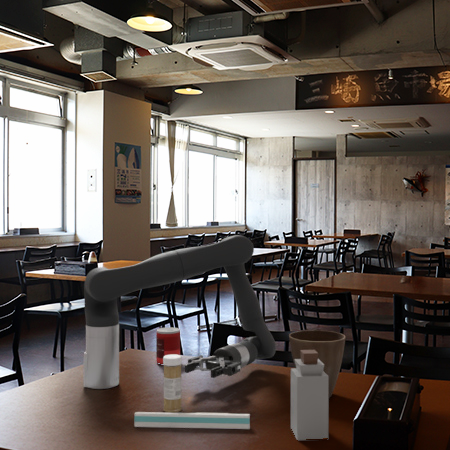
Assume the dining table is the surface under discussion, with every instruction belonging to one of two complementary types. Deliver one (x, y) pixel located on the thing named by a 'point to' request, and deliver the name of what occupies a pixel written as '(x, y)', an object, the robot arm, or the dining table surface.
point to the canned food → (167, 342)
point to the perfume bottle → (309, 397)
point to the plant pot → (321, 350)
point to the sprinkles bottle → (172, 383)
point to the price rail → (192, 420)
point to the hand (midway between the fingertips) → (198, 371)
